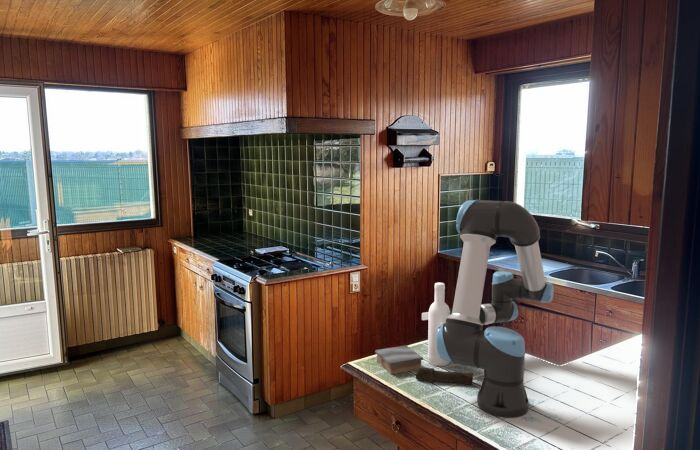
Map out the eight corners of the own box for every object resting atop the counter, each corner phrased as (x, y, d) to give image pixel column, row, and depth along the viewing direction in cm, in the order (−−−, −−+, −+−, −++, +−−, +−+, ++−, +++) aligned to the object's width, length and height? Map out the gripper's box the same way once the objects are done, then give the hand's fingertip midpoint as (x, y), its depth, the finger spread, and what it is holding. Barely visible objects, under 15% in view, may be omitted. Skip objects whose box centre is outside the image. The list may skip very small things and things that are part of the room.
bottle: (423, 362, 188) (424, 283, 185) (436, 356, 194) (437, 279, 190) (440, 368, 183) (441, 287, 179) (453, 362, 188) (455, 283, 184)
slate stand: (422, 369, 182) (423, 357, 181) (390, 375, 177) (390, 363, 177) (406, 356, 194) (406, 345, 193) (375, 361, 189) (375, 350, 189)
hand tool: (472, 381, 172) (472, 368, 172) (472, 386, 168) (473, 373, 168) (416, 377, 176) (416, 364, 176) (415, 382, 172) (415, 369, 172)
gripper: (500, 334, 182) (449, 342, 174) (461, 315, 204) (414, 321, 197) (501, 314, 181) (449, 321, 173) (462, 297, 203) (415, 302, 196)
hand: (431, 321), depth 185 cm, fingers open, 12 cm apart
